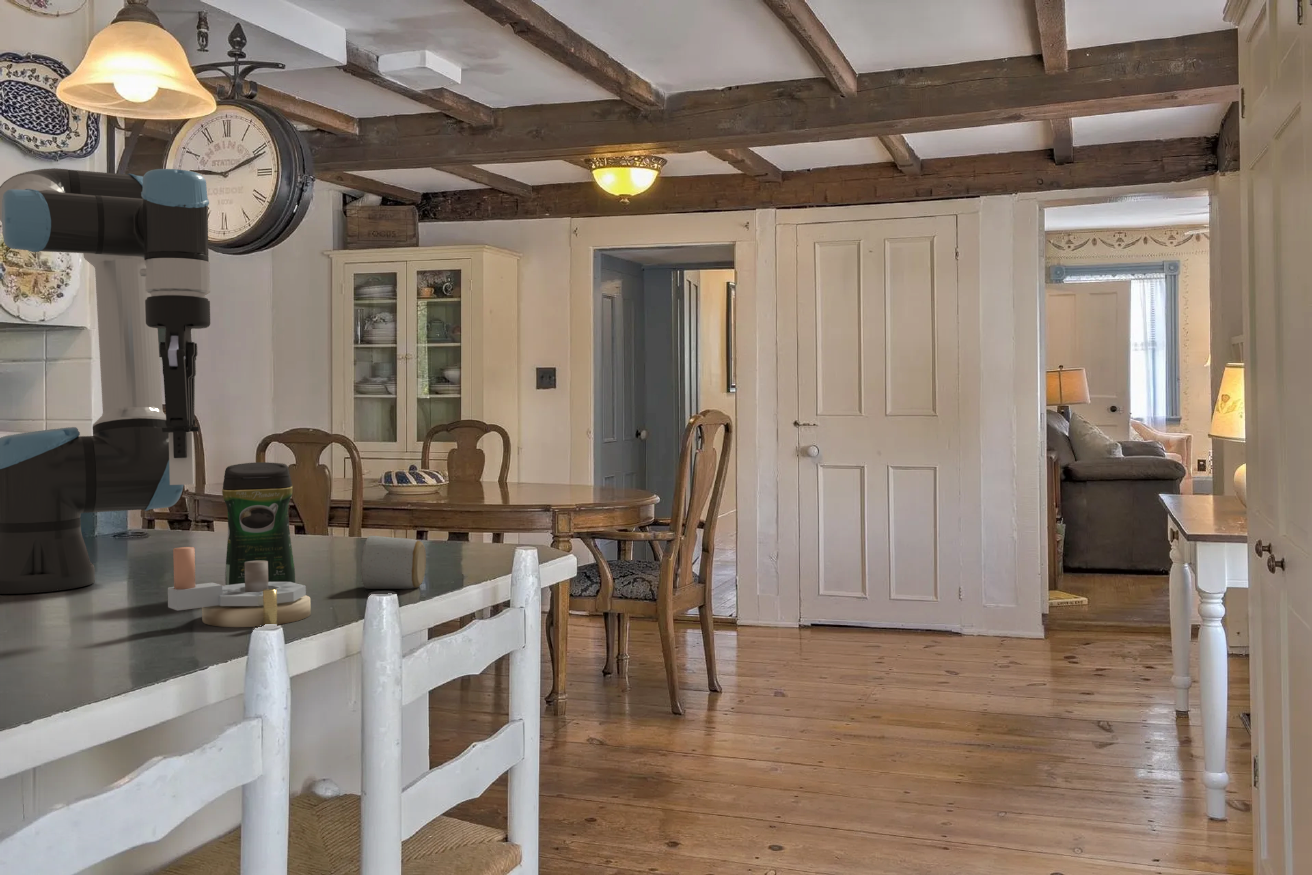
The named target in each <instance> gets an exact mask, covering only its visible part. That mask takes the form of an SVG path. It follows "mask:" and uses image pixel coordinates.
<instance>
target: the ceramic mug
mask: <svg viewBox="0 0 1312 875" xmlns="http://www.w3.org/2000/svg"><path fill="white" fill-rule="evenodd" d="M360 560H361V563H360V576H361V582H362V585H363V587H364V589H367V590H410V589H411V590H412V589H417V588H419V587H420V586H421V585H422V583H423V582H424V579H425V575H426V566H427V551H426V547H425V545H424V542H422V541H420V540H418V539H417V540H416V539H414V538H413V539H412V538H406V537H405V538H403V537H390V536H389V537H388V536H379V535H369V536H367V538H366V539H365V541H364V543H363V547H362V551H361V559H360Z"/></svg>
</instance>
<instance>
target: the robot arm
mask: <svg viewBox="0 0 1312 875" xmlns="http://www.w3.org/2000/svg"><path fill="white" fill-rule="evenodd" d="M207 188H208V187H207V180H206V178H205V177H204V176H203V175H202V174H200V173H198V172H195V171H191V170H186V169H177V168H176V169H175V168H156V169H151V170H148V171H146V172H145V173H144V175H143V176H142V175H136V174H133V173H124V174H123V173H113V172H103V171H102V172H100V171H92V170H91V171H90V170H88V171H87V170H79V169H78V170H77V169H68V168H56V167H53V168H39V169H35V170H29V171H24V172H21V173H18V174H15V175H13V176H11V177H9V178H8V179H6V180H5V181H3V182H2V183H1V185H0V222H1V224H2V225H1V228H2V238H3V242H4V245H5V246H6V247H8V248H9V249H12V250H20V251H21V250H22V251H28V252H32V253H40V252H43V253H45V252H46V253H70V254H71V253H73V254H82V256H83V259H84V260H85V261H86V262H88V263H89V264H90V265H91V266H92V267H94V273H95V274H94V275H95V276H94V277H95V293H96V294H95V295H96V312H97V313H96V314H97V330H98V331H97V333H98V347H99V348H98V350H99V365H100V384H101V386H100V387H101V402H102V403H101V406H102V414H101V416H100V417H99V418H97V419H96V421H95V422H94V423H93V424H92V435H87V436H86V435H85V436H84V435H82V436H81V432H80V431H79V429H78V427H75V426H72V427H68V426H67V427H61V428H59V427H58V428H51V429H50V428H49V429H44V430H42V429H41V430H35V431H29V432H28V431H27V432H21V433H16V434H10V435H5V436H0V594H2V595H3V594H5V595H7V594H8V595H13V594H16V595H17V594H35V593H46V592H48V593H49V592H57V591H66V590H70V589H76V588H77V589H78V588H82V587H86V586H90V585H93V584H94V583H95V582H96V573H95V572H96V568H95V566H94V563H92V562H91V561H90V556H89V552H88V548H87V546H86V543H85V540H84V537H83V534H82V527H81V526H82V525H81V524H82V523H81V520H82V519H81V514H84V513H85V514H86V513H87V514H88V513H90V514H91V513H106V512H108V513H109V512H121V511H122V512H123V511H124V512H126V511H140V510H142V511H145V512H147V511H150V510H156V509H166V508H171V507H173V506H175V505H176V504H178V503H177V502H178V501H179V500H180V498H181V496H182V493H183V489H184V486H185V485H186V486H187V485H195V460H194V459H195V457H194V456H195V454H194V453H195V452H194V450H195V448H194V432H200V426H195V424H196V420H195V397H196V396H195V395H196V394H195V389H196V388H195V383H196V380H195V379H196V378H195V377H196V374H197V365H196V361H197V356H198V344H197V342H195V341H192V339H193V338H192V332H191V331H192V330H194V329H195V330H196V329H197V330H199V329H200V330H201V329H207V328H209V327H210V326H211V301H210V300H209V299H208V298H207V297H206V295H208V294H210V293H211V275H210V272H211V270H210V269H211V268H210V267H211V266H210V265H211V264H210V262H209V221H208V220H209V209H208V208H209V205H210V200H209V198H208V189H207ZM158 329H164V332H165V335H164V341H160V343H159V331H158ZM160 357H161V360H160ZM160 362H161V363H162V375H163V389H164V391H163V390H162V377H161V363H160ZM162 391H163V392H164V404H165V405H164V407H165V413H164V411H163V394H162Z"/></svg>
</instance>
